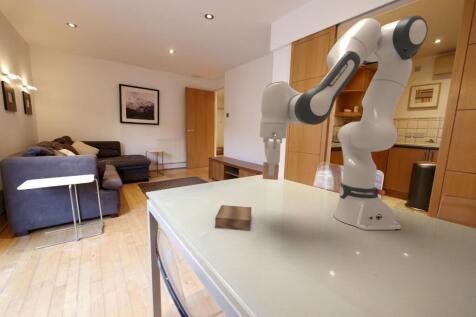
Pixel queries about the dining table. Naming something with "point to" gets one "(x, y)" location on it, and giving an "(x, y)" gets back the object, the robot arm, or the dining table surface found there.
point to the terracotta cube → (265, 171)
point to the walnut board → (233, 217)
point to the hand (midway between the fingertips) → (270, 173)
